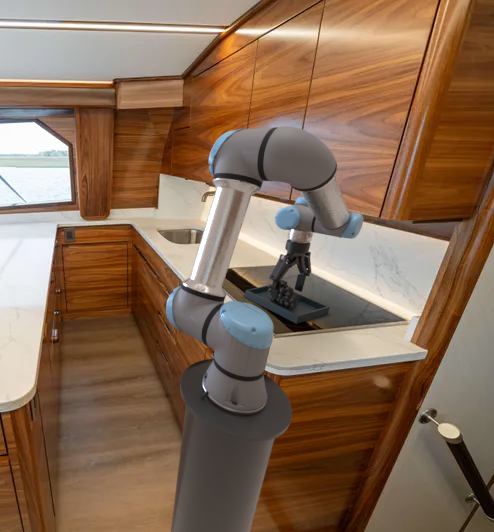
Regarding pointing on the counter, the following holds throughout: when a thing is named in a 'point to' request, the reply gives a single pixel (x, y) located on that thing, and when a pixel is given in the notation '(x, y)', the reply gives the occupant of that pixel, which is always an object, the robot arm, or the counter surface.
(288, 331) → the counter surface
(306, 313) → the tray
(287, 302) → the fruit
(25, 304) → the counter surface
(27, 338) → the counter surface
